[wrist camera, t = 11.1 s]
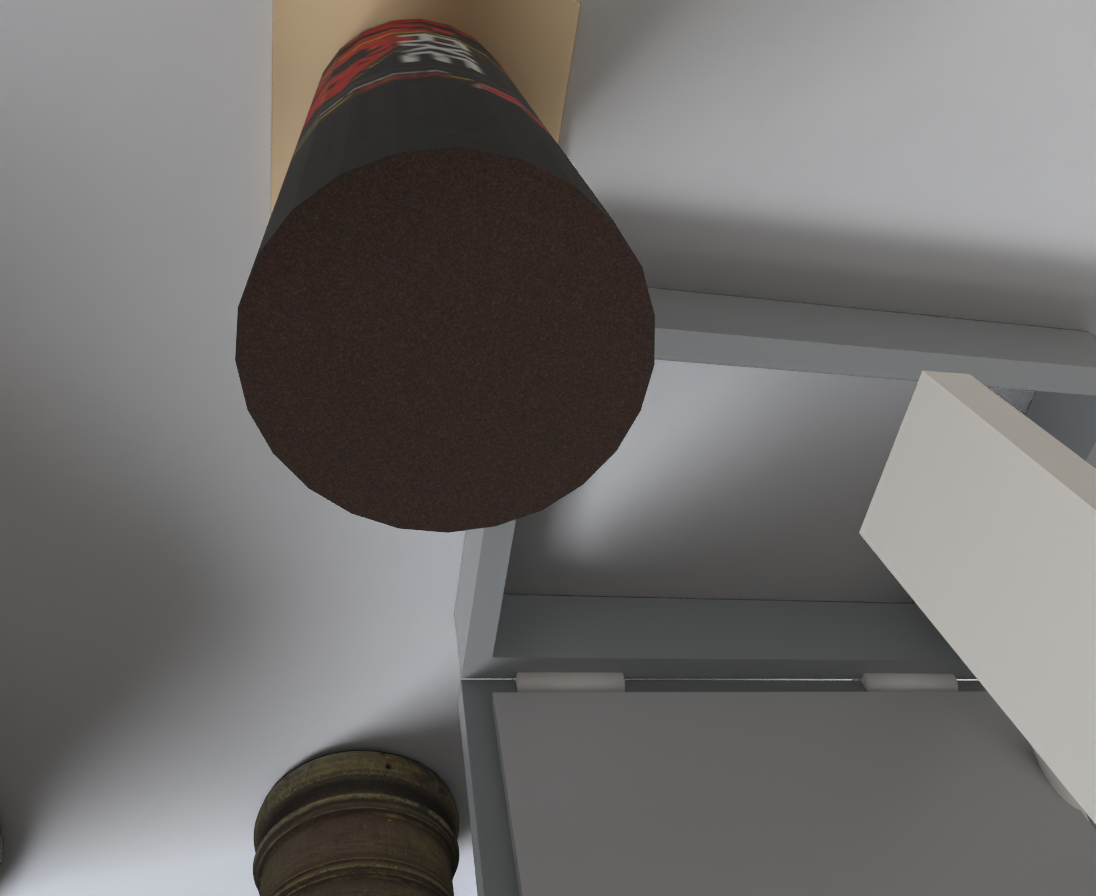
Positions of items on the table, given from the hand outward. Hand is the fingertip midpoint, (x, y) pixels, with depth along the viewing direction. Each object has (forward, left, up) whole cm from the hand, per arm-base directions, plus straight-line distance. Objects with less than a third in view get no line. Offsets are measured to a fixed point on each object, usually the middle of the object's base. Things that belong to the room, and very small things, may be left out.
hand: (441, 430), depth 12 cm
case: (+14, -11, -17) cm, 25 cm away
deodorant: (0, 0, -17) cm, 17 cm away
